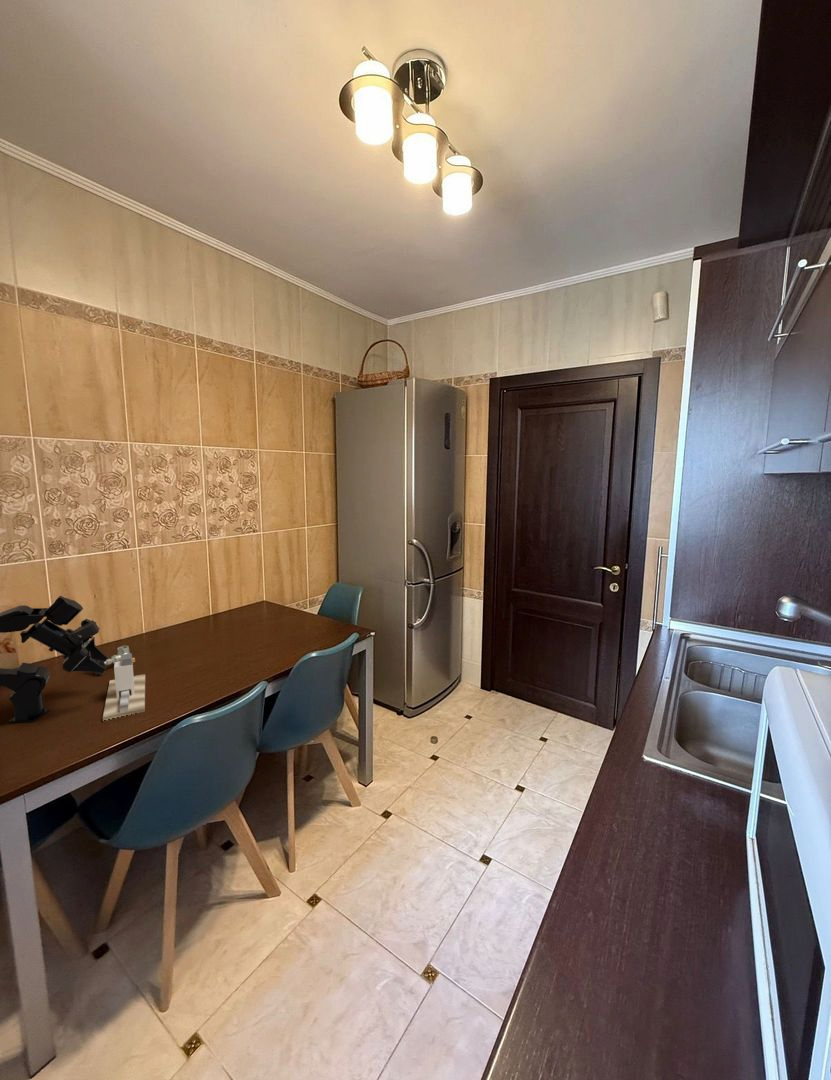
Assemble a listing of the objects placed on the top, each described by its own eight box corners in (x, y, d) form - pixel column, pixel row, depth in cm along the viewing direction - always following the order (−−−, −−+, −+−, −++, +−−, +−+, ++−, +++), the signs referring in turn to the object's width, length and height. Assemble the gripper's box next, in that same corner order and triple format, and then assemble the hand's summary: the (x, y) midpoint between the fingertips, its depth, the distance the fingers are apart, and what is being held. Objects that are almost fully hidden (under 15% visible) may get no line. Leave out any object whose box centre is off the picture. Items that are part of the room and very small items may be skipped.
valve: (124, 660, 163) (90, 674, 152) (122, 643, 162) (88, 656, 151) (136, 663, 161) (102, 677, 150) (134, 646, 160) (101, 659, 149)
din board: (144, 711, 129) (144, 702, 128) (103, 721, 124) (102, 711, 123) (145, 676, 151) (144, 668, 150) (110, 683, 146) (109, 675, 145)
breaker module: (137, 694, 137) (134, 657, 135) (116, 698, 134) (113, 661, 132) (137, 688, 140) (134, 652, 139) (117, 692, 138) (114, 656, 136)
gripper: (72, 624, 120) (124, 654, 127) (81, 606, 136) (127, 634, 143) (38, 657, 117) (94, 686, 124) (51, 635, 133) (100, 662, 140)
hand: (105, 665), depth 133 cm, fingers open, 9 cm apart
